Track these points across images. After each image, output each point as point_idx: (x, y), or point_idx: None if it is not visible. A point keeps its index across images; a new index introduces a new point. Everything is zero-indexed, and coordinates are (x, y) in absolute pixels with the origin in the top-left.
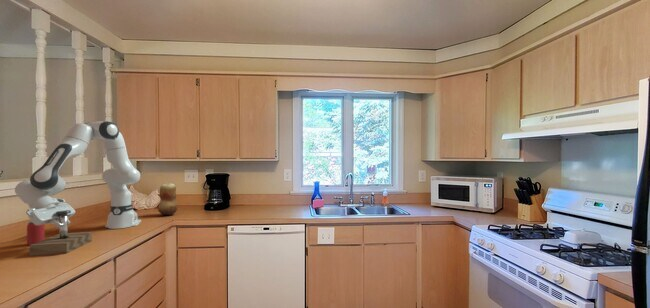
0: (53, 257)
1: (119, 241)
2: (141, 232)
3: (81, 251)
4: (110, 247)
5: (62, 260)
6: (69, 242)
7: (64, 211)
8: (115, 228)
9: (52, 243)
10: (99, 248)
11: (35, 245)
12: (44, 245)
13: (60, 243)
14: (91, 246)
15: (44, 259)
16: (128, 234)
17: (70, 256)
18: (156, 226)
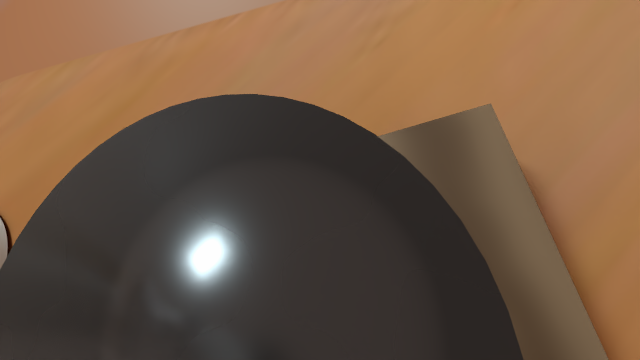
0: (552, 147)
1: (253, 44)
2: (113, 66)
3: (423, 86)
4: (350, 4)
5: (588, 46)
6: (455, 115)
7: (225, 266)
8: (4, 261)
9: (523, 211)
10: (367, 40)
11: (597, 342)
12: (557, 262)
13: (508, 144)
14: (334, 111)
15: (600, 168)
16: (135, 100)
17: (515, 66)
18: (24, 79)
